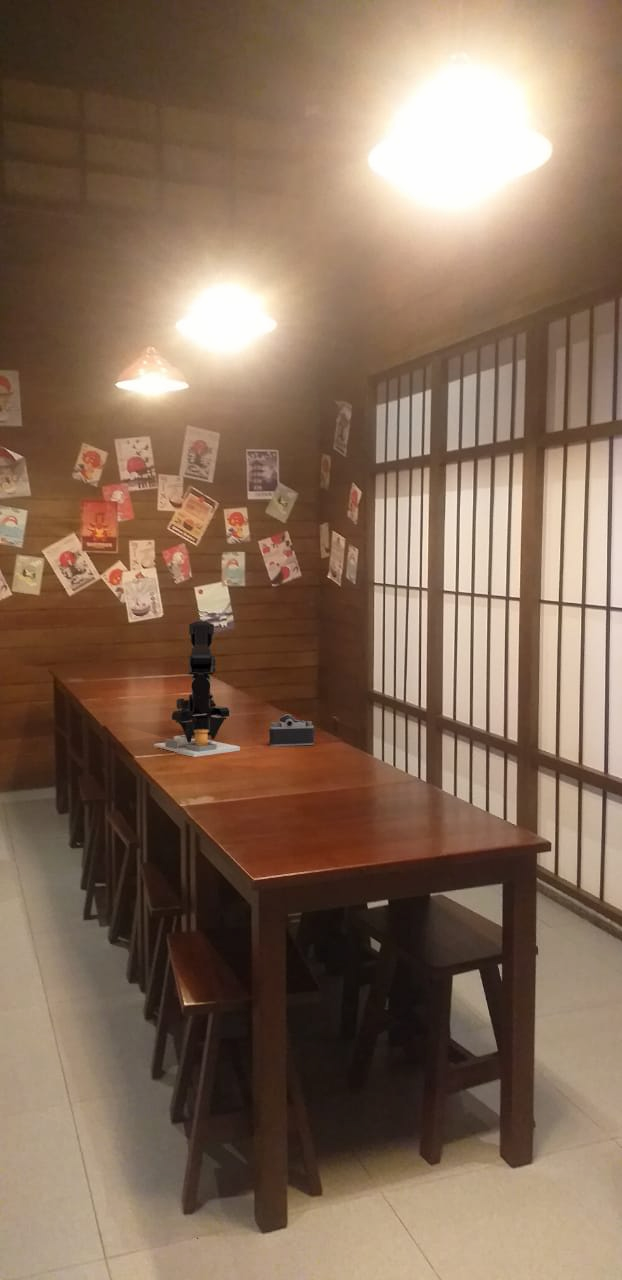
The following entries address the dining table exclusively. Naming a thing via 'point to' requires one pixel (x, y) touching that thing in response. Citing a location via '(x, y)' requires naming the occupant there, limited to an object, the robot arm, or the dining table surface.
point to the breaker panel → (197, 748)
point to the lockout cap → (201, 737)
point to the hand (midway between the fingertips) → (201, 740)
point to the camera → (291, 732)
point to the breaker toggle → (181, 740)
